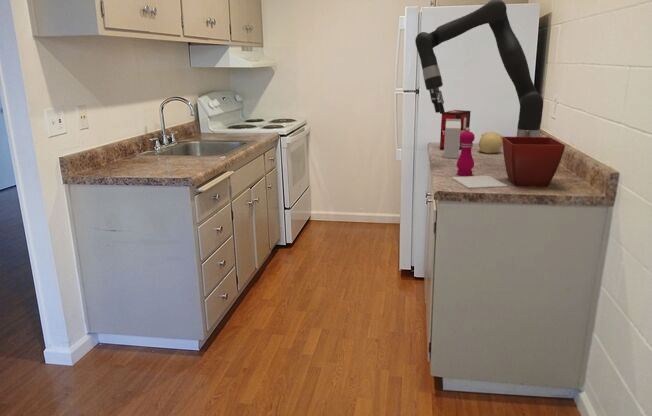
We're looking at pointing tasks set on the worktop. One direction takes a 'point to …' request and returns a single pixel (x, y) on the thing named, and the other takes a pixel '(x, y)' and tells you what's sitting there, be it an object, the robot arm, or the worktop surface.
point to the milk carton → (452, 138)
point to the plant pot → (531, 159)
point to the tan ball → (490, 142)
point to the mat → (478, 182)
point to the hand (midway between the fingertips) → (440, 112)
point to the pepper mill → (466, 154)
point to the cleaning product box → (454, 115)
